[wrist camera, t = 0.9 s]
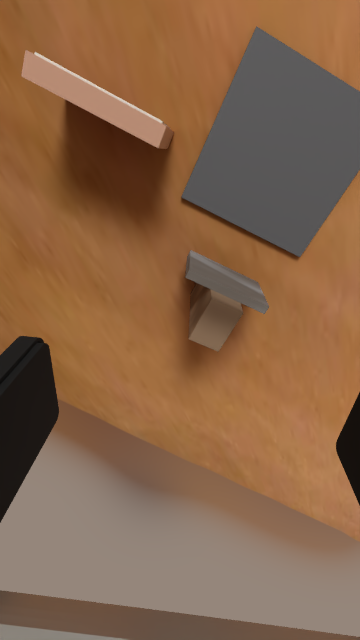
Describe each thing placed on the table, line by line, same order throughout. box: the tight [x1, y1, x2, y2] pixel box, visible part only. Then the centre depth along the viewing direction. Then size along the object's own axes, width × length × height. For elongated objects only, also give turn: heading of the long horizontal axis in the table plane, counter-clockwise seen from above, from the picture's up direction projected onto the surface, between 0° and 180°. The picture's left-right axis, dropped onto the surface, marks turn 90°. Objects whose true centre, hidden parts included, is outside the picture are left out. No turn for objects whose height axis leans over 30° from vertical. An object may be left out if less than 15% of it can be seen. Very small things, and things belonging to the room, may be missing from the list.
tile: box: [21, 50, 174, 149], centre depth 25 cm, size 2×10×8 cm, turn 65°
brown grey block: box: [185, 250, 269, 352], centre depth 31 cm, size 5×8×10 cm, turn 65°
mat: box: [182, 27, 360, 257], centre depth 29 cm, size 14×14×1 cm
